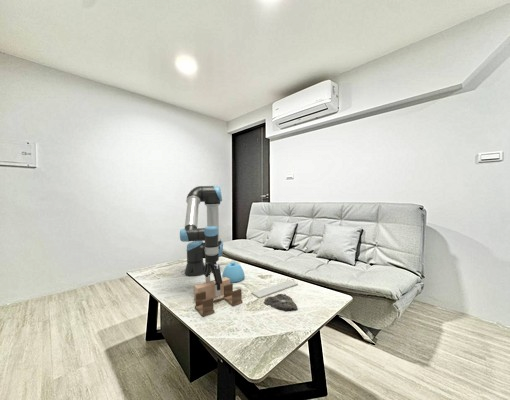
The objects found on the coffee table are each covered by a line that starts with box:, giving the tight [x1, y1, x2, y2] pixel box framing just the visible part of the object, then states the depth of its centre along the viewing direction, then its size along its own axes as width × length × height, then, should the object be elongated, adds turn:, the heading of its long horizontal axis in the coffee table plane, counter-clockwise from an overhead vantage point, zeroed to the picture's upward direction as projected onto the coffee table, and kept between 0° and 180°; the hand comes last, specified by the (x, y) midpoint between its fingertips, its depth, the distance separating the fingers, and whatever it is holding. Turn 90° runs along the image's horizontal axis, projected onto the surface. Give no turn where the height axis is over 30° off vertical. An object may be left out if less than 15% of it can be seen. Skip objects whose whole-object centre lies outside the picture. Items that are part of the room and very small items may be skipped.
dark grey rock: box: [263, 293, 299, 312], centre depth 113 cm, size 19×4×15 cm
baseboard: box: [250, 278, 299, 300], centre depth 131 cm, size 30×3×10 cm
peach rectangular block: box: [193, 277, 231, 302], centre depth 123 cm, size 5×20×8 cm, turn 128°
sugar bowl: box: [221, 261, 245, 284], centre depth 148 cm, size 15×15×12 cm
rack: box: [194, 283, 244, 318], centre depth 112 cm, size 10×22×7 cm, turn 126°
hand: (212, 291), depth 123 cm, fingers open, 12 cm apart
